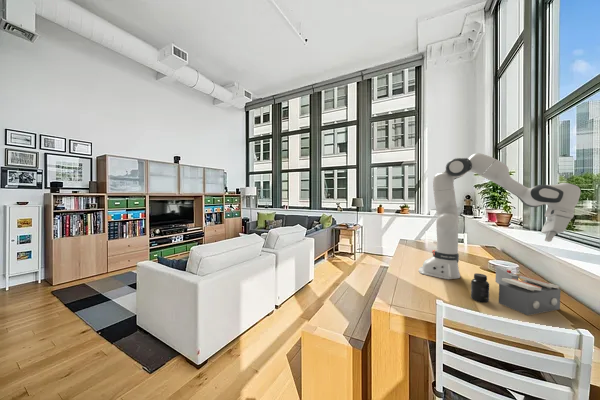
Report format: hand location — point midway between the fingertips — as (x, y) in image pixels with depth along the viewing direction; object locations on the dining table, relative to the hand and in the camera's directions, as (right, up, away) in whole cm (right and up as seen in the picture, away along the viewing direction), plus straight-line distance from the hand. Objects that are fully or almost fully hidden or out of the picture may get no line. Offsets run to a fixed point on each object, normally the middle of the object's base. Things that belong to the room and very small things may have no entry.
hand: (547, 241), depth 114 cm
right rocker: (-15, -18, -10) cm, 26 cm away
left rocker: (-26, -18, -12) cm, 34 cm away
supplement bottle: (-38, -27, -5) cm, 47 cm away
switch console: (-20, -27, -11) cm, 36 cm away
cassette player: (-12, -27, +10) cm, 31 cm away
